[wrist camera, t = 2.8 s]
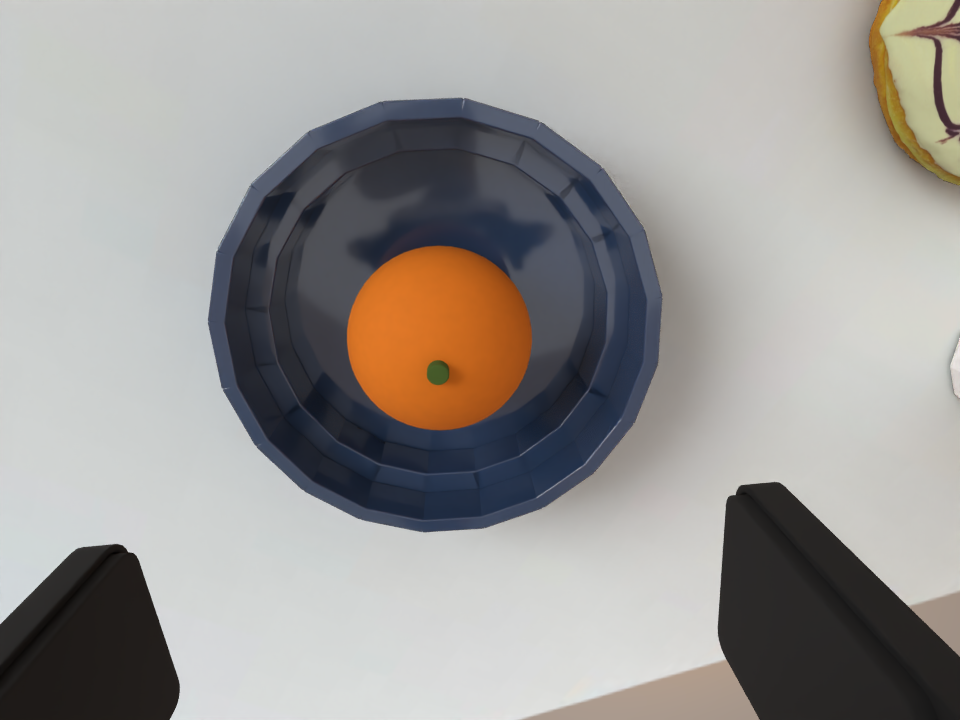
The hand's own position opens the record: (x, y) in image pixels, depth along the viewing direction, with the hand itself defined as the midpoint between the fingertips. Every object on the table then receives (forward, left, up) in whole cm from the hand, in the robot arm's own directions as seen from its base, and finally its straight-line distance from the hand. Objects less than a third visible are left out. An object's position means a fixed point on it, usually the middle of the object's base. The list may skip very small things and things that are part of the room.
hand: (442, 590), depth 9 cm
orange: (0, 0, -17) cm, 17 cm away
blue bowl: (0, 0, -17) cm, 17 cm away
